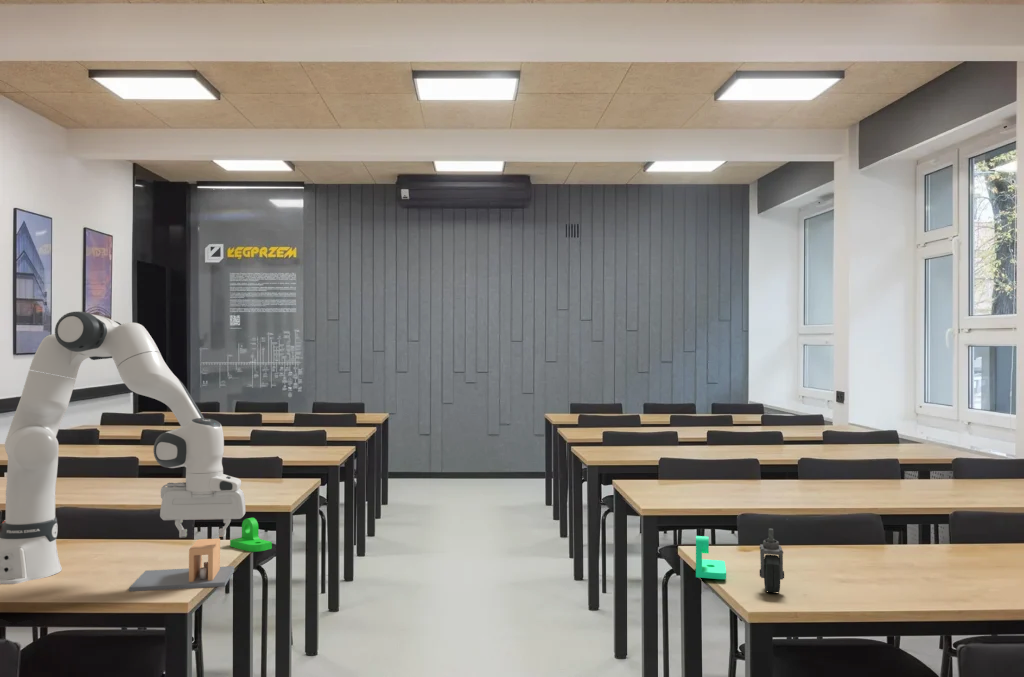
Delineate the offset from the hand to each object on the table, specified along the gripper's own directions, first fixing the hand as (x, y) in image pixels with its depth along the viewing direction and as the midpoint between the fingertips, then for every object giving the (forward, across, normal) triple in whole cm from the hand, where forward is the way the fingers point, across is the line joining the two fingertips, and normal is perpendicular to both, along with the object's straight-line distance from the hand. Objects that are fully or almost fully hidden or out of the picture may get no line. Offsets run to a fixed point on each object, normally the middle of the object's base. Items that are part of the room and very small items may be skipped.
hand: (202, 536), depth 191 cm
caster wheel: (+9, +140, -32) cm, 144 cm away
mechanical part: (+12, +7, +33) cm, 36 cm away
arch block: (+10, +1, +1) cm, 10 cm away
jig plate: (+12, -4, +1) cm, 12 cm away
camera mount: (+10, +132, -16) cm, 133 cm away
